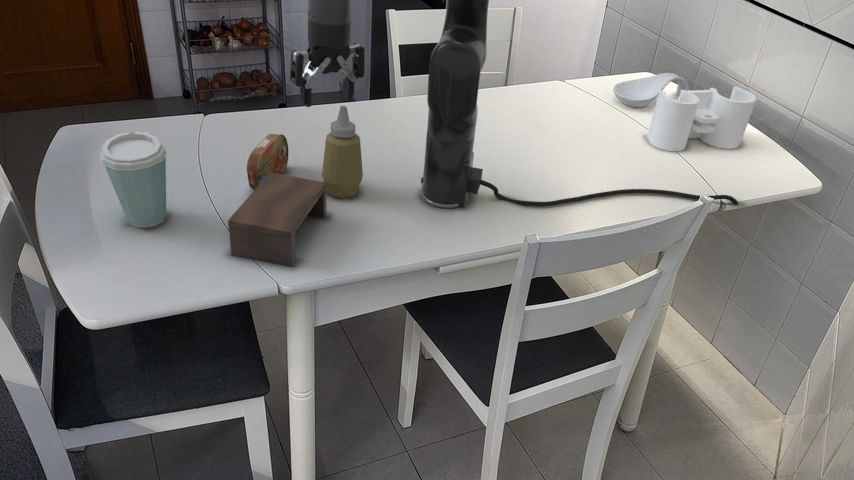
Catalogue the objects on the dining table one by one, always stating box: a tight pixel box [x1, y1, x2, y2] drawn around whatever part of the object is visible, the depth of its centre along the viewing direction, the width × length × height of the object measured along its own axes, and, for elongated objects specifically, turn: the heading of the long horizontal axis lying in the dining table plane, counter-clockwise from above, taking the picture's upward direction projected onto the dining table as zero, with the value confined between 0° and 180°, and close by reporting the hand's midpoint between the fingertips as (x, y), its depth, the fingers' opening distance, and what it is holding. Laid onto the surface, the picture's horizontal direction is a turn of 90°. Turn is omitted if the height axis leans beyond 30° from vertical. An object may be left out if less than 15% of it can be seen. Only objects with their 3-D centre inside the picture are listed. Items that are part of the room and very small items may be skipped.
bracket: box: [646, 86, 757, 152], centre depth 181 cm, size 25×10×12 cm, turn 108°
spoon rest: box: [612, 72, 690, 109], centre depth 201 cm, size 24×12×7 cm, turn 117°
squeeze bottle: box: [321, 105, 364, 199], centre depth 143 cm, size 8×8×18 cm
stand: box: [227, 172, 328, 268], centre depth 132 cm, size 11×18×7 cm, turn 169°
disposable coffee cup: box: [98, 131, 168, 229], centre depth 129 cm, size 11×11×15 cm
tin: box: [246, 133, 289, 191], centre depth 147 cm, size 15×3×8 cm, turn 168°
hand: (327, 102), depth 140 cm, fingers open, 8 cm apart
